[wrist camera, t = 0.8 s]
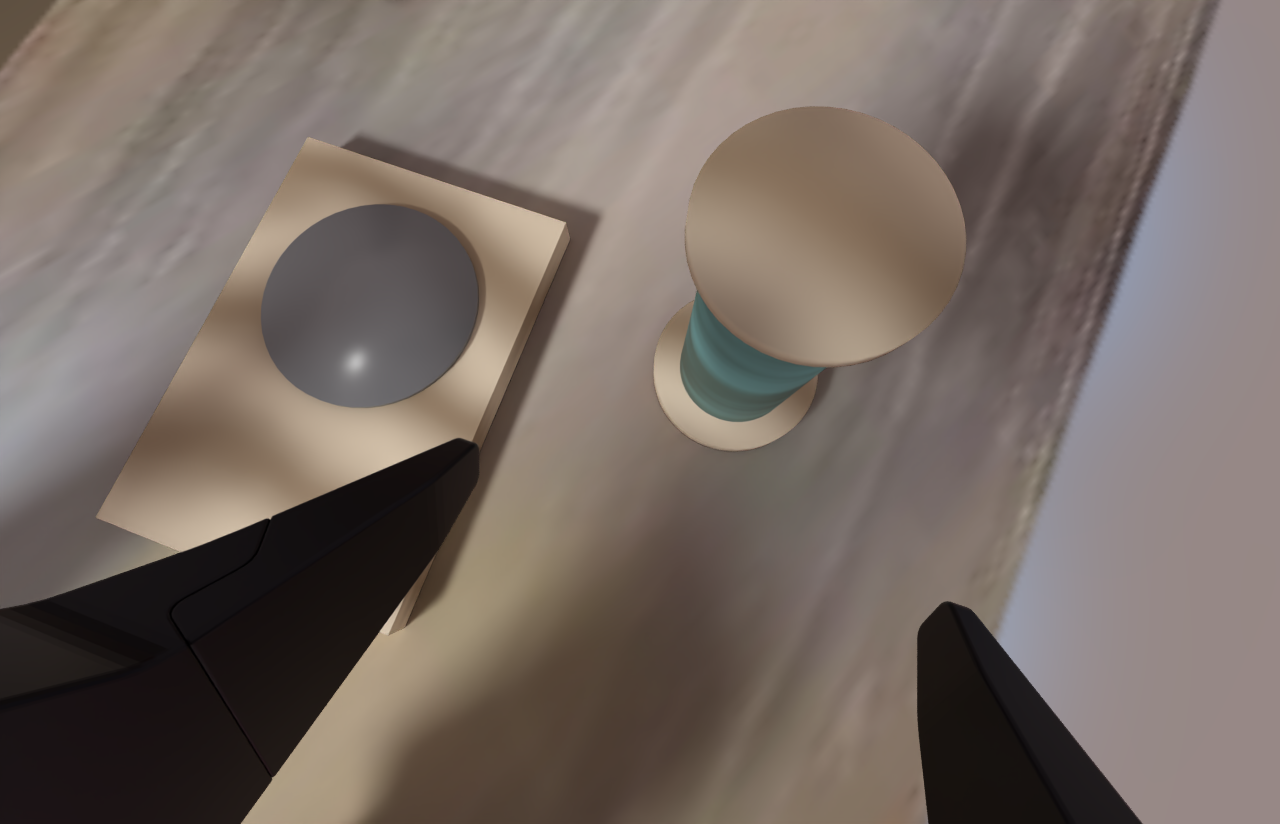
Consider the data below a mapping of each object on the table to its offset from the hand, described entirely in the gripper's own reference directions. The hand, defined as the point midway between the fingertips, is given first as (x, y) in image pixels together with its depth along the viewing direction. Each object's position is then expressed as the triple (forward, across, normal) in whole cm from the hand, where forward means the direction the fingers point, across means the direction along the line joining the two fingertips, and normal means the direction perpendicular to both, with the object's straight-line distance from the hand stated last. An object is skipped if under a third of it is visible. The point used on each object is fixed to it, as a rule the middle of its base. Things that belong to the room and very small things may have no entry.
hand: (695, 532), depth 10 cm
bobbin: (+15, 0, +5) cm, 16 cm away
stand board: (+11, +17, +8) cm, 22 cm away
